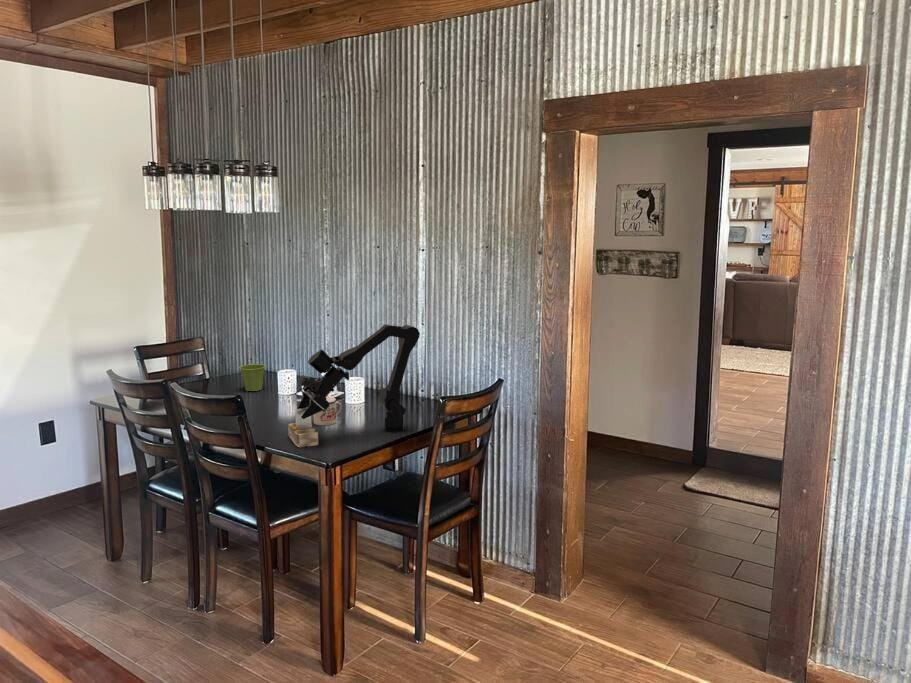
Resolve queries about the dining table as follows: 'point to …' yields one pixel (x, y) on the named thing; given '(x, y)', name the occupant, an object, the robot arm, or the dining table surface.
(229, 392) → the dining table surface
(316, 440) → the birch rack
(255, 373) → the plant pot
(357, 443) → the dining table surface
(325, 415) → the teacup with lid
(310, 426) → the aluminium panel
